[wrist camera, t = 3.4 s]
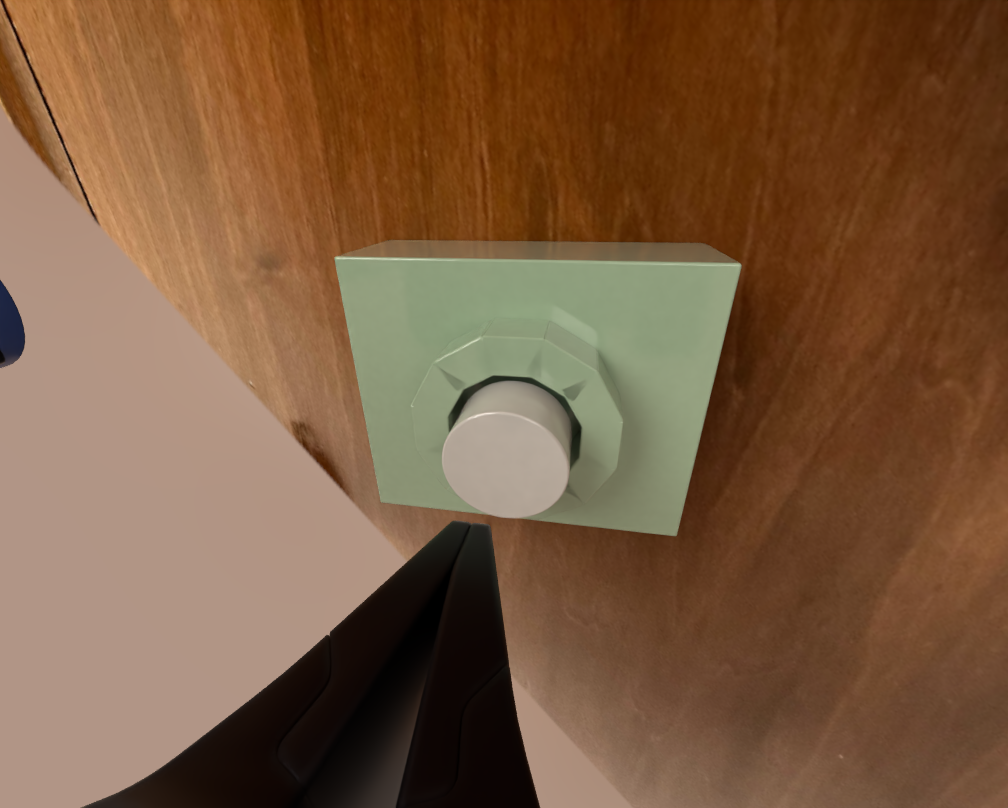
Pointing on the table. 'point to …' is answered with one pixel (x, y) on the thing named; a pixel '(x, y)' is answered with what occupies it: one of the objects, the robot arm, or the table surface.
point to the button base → (542, 361)
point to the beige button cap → (509, 450)
